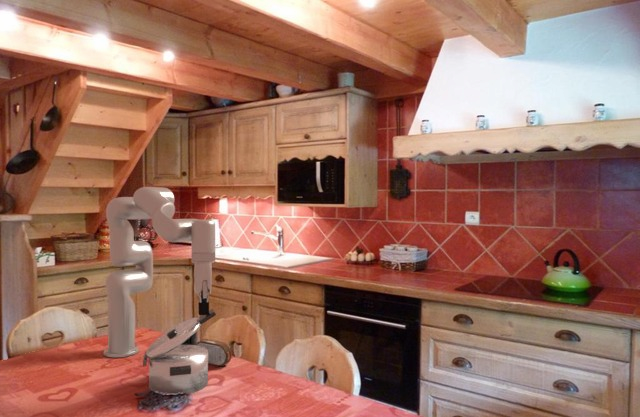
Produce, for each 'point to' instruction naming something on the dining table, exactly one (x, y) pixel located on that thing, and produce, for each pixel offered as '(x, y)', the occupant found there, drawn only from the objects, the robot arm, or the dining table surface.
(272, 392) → the dining table surface
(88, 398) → the dining table surface
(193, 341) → the supplement bottle
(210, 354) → the tin
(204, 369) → the cooker pot
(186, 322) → the cooker lid
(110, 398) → the dining table surface
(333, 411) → the dining table surface
